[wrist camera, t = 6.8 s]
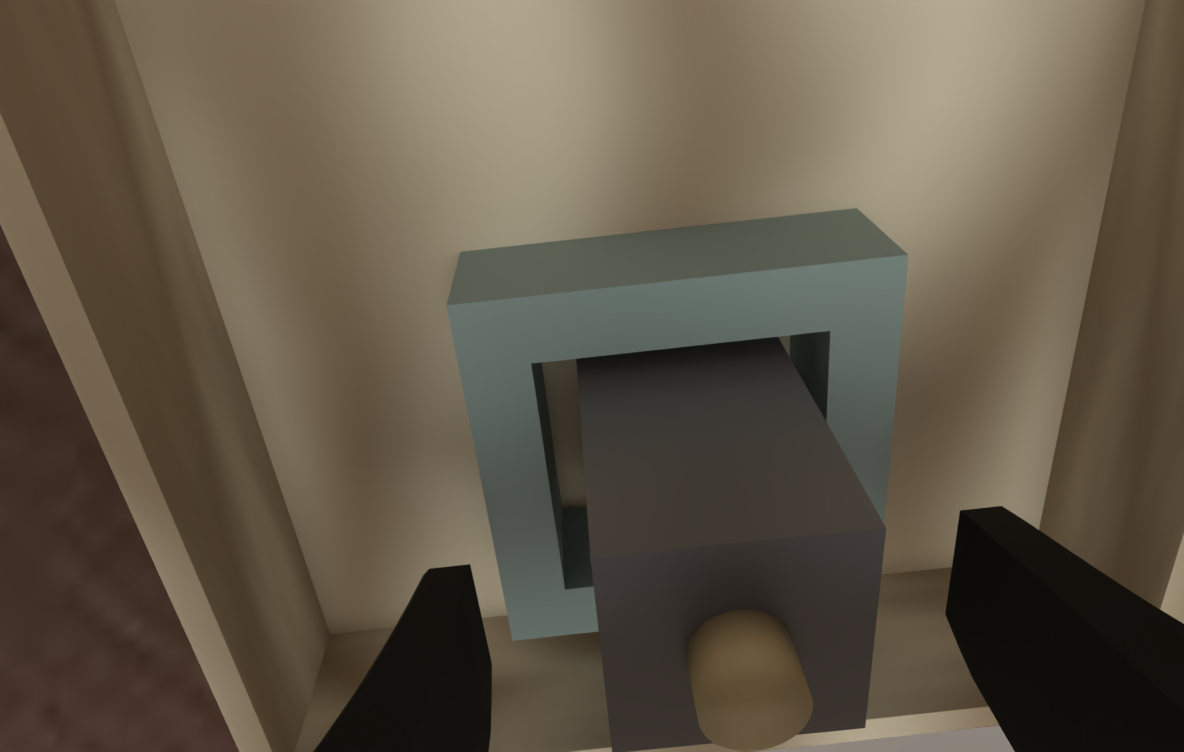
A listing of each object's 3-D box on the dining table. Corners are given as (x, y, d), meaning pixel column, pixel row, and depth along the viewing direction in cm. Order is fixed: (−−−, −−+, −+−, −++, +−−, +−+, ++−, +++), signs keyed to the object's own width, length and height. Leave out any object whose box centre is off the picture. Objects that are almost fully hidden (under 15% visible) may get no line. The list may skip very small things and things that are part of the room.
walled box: (317, 636, 21) (263, 804, 17) (-64, -451, 11) (-401, -659, 7) (1041, 558, 21) (1158, 708, 17) (1281, -603, 11) (1692, -898, 7)
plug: (589, 470, 18) (617, 819, 11) (573, 318, 16) (594, 617, 9) (755, 453, 18) (889, 792, 11) (757, 300, 16) (918, 585, 9)
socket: (516, 558, 19) (512, 640, 17) (460, 251, 15) (445, 305, 13) (839, 523, 19) (877, 601, 17) (856, 208, 15) (908, 254, 13)
